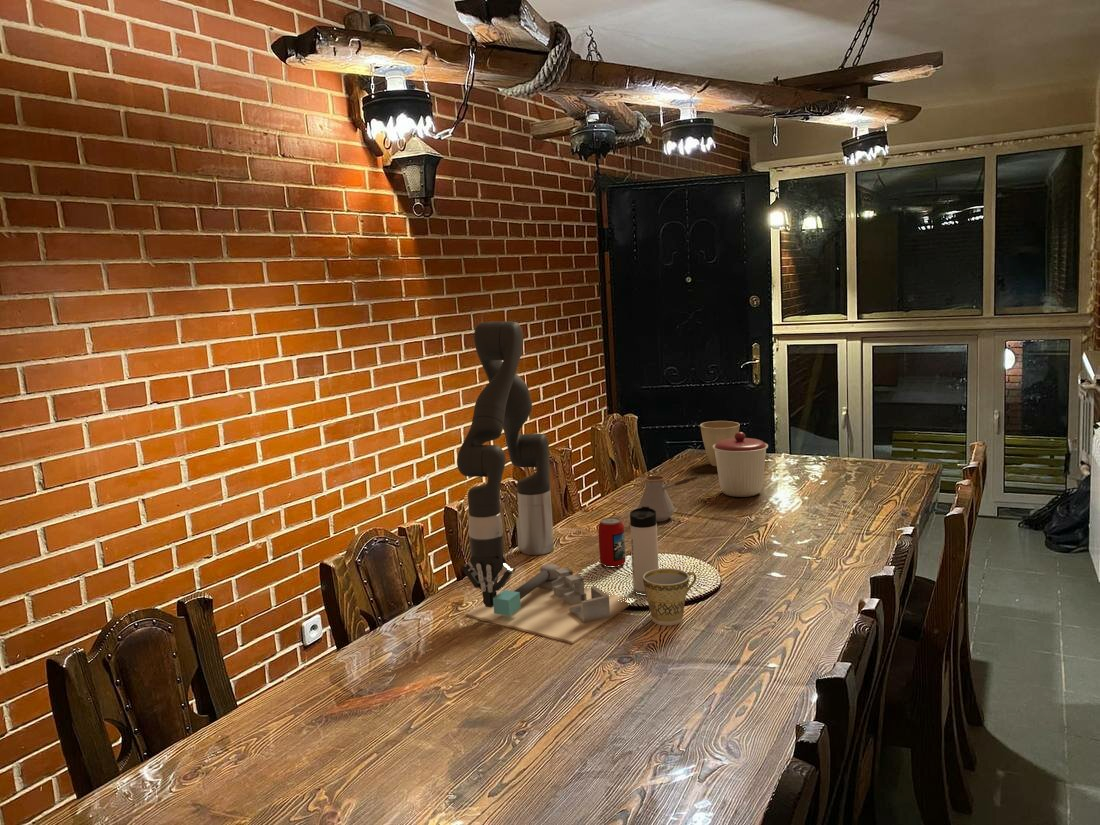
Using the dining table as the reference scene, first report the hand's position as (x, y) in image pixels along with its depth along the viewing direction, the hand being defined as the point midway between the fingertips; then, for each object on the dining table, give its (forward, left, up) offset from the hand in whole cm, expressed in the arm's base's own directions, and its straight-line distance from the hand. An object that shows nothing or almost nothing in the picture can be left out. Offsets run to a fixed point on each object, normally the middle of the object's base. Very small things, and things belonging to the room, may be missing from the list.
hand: (490, 606), depth 186 cm
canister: (+8, +120, -3) cm, 120 cm away
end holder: (+19, +11, -3) cm, 22 cm away
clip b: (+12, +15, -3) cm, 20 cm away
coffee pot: (+1, +83, -3) cm, 83 cm away
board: (+9, +11, -3) cm, 14 cm away
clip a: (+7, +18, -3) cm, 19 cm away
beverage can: (+6, +42, -3) cm, 43 cm away
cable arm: (+3, +11, 0) cm, 11 cm away
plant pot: (-16, +156, -3) cm, 157 cm away
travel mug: (+23, +30, -3) cm, 38 cm away
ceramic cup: (+36, +19, -3) cm, 41 cm away
